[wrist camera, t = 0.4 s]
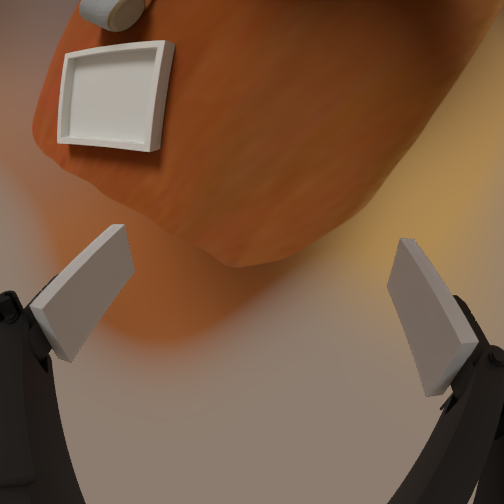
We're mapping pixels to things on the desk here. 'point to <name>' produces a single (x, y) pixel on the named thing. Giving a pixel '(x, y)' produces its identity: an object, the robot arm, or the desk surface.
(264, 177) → the desk surface
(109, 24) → the ceramic mug
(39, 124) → the desk surface
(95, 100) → the tray
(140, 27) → the desk surface
